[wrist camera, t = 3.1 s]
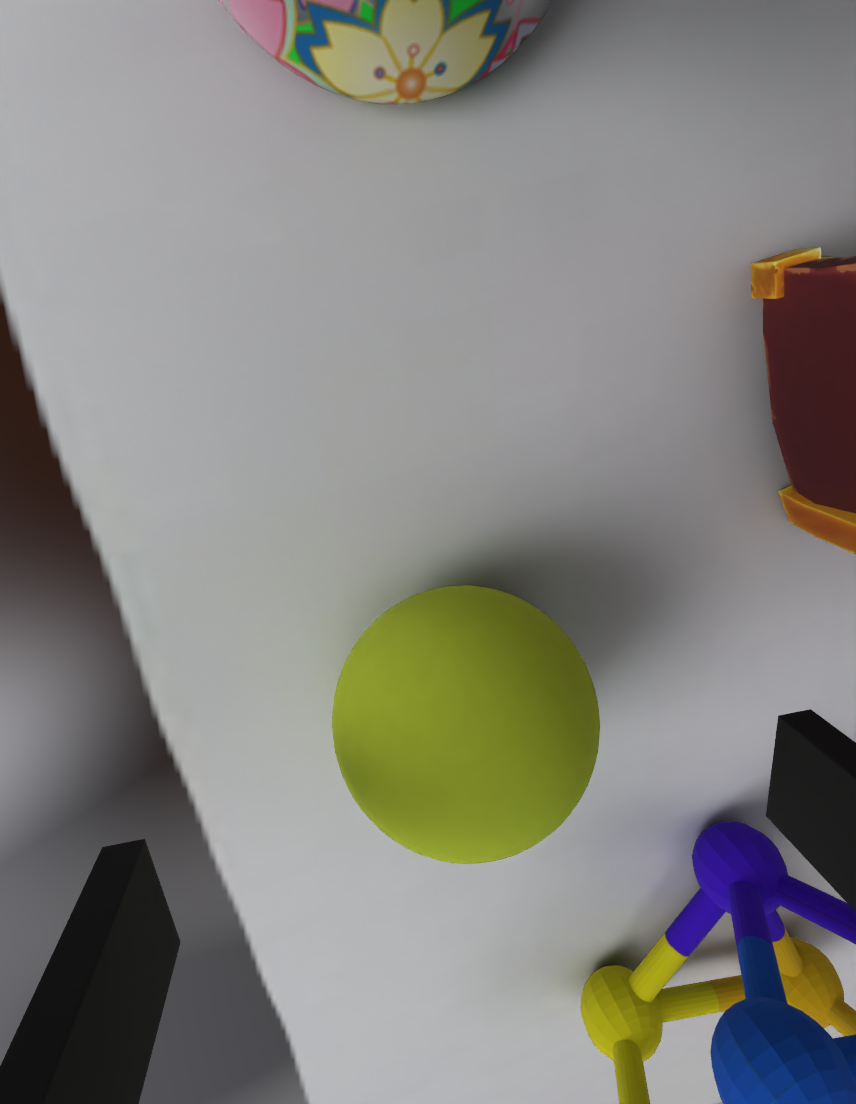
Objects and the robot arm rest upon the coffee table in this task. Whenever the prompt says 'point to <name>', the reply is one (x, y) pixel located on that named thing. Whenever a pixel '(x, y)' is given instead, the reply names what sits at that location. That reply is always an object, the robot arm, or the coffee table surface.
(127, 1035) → the robot arm
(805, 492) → the book monster
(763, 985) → the educational toy
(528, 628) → the ball
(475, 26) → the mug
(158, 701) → the coffee table surface
